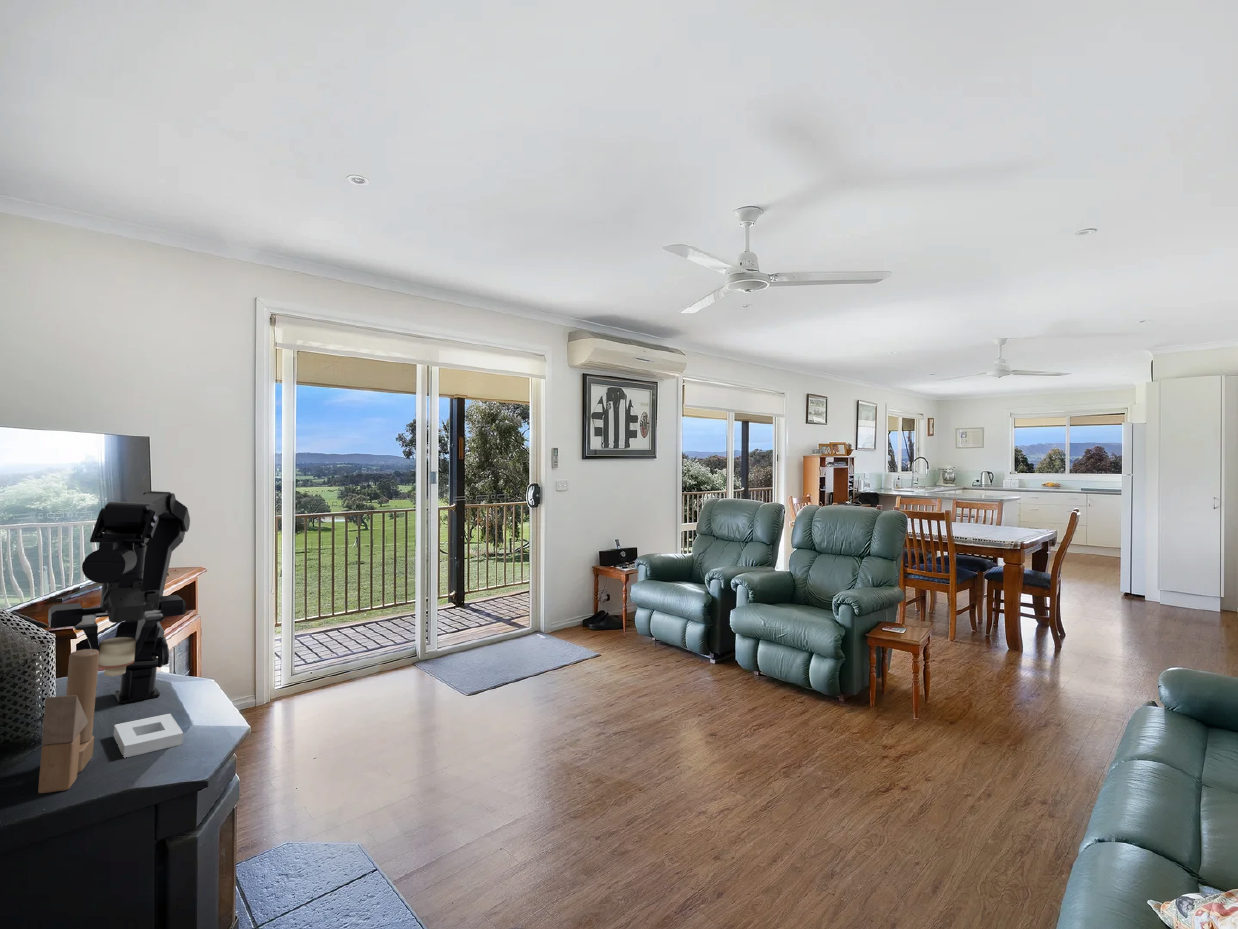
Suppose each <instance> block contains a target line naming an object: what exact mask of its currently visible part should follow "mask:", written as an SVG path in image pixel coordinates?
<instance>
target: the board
mask: <svg viewBox="0 0 1238 929" xmlns="http://www.w3.org/2000/svg"><path fill="white" fill-rule="evenodd" d="M113 727H114V728H113V738H114V740H115V743H116V744H118V745H117V747H118V748H119V751H120V753H121V755H123V756H122V758H123V757H124V758H123V759H126V757H127V758H130V757H135V756H139V755H143V754H148V753H151V752H155V751H160V750H164V749H168V748H173V747H176V746H181V745H183V743H184V742H183V741H184V732H183V730H182V729H181V727H180V726H179V724H178V723H177V721H176V720H175V718H174V717H173V716H172V714H171V713H166V714H160V715H155V716H151V717H146V718H141V719H136V720H132V721H126V722H121V723H117V724H114V726H113Z"/></svg>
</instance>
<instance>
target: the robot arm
mask: <svg viewBox="0 0 1238 929" xmlns="http://www.w3.org/2000/svg"><path fill="white" fill-rule="evenodd" d="M188 509H189V508H188V507H187V506H186V505H185V504H183V503H182V502H180V501H179V500H177V499H176V494H175V493H174V492H172V493H171V492H170V491H159V490H158V491H155V490H148V491H145V492H143V494H142V495H141V496H139V497H137V498H134V499H133V500H131V501H128V502H127V501H125V502H124V501H109V502H108V503H106V504H105V506H104V507H102V508H101V509H100V510H99V513H98V515H97V519H96V522H95V524H94V527H93V530H92V533H91V536H90V539H89V543H94V544H96V543H98V549H97V550H94V551H92V552H91V553H89V554H88V555H86V557H85V559H84V560H83V562H82V564H81V569H82V573H83V575H84V576H85V578H86V579H88V580H89V581H91V582H94V583H96V584H97V583H98V584H101V590H100V591H101V594H100V604H99V606H90V607H82V605H81V603H80V602H76V603H75V602H73V603H62V604H53V605H52V606H51V607H49V608H48V615H47V621H48V626H49V628H50V629H60V628H70V627H71V628H72V627H73V628H74V630H76V631H83V633H84V635H85V636H86V639H87V642H88V644H89V647H90V648H89V649H95V650H98V651H99V634H98V633H99V632H98V630H99V625H98V624H97V622H96V620H97V618H106V617H108V621H109V622H110V623H113V624H117V623H119V624H118V625H117V627H116V633H115V637H114V638H118V637H131V638H135V639H136V647H135V658H134V659H135V660H134V663H133V664H131V665H128V666H126V673H124V674H122V675H120V678H119V679H120V680H119V688H118V690H115V691H114V693H113V695H114V697H115V698H116V701H117V703H118V704H125V703H131V702H136V701H142V700H147V699H152V698H157V697H159V696H160V695H161V693H160V692H159V690H158V688H157V687H156V680H157V671H158V670H157V668H162V667H163V666H167V665H169V663H170V649H169V644H168V642H167V638H166V637H165V630H164V628H163V625H162V624H161V622H163V621H165V617H176V616H183V615H186V607H187V604H186V601H185V600H184V599H183V598H182V597H180V596H179V595H178V594H171V595H169V594H168V595H164V591H165V586H166V581H167V577H168V572H169V567H170V562H171V557H172V553H173V551H174V550H176V548H178V547H179V546H180V545H181V543H184V542H183V541H184V538H185V535H186V533H188V532H189V529H190V526H191V525H190V524H191V518H190V513H189V510H188Z"/></svg>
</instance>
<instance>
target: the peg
mask: <svg viewBox="0 0 1238 929" xmlns="http://www.w3.org/2000/svg"><path fill="white" fill-rule="evenodd" d="M98 645H99V661H98V669H99V668H100V669H104V670H103V675H104V676H105V677H118V676H121V675H122V674H124V673H126V666H128V665H131V664H133V663H134V660H135V659H134V658H135V647H136V639H135V638H131V637H118V638H115V637H112V638H106V639H102V640H101V641H98Z"/></svg>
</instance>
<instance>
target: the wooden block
mask: <svg viewBox="0 0 1238 929" xmlns="http://www.w3.org/2000/svg"><path fill="white" fill-rule="evenodd" d="M98 661H99V651H98V650H95V649H91V648H83V649H79V650H75V651H73V652H70V653H69V657H68V667H67V668H68V669H67V678H66V679H67V681H66V694H65V695H60V696H47V697H46V698H45V701H44V709H43V710H44V712H43V713H44V714H43V723H42V724H43V725H42V734H41V735H42V736H41V745H42V746H41V752H40V753H41V756H40V763H39V764H40V766H39V776H38V777H39V778H38V787H37V788H38V789H37V791H38V794H48V793H53V792H55V793H57V792H61V791H62V792H63V791H67V790H69V789H71V787H72V785H73V784H74V783H75V781H76V780H77V778H78V774H80V773H81V772H82V771H83V770H84V768H85V767H86V766H87V765H88V763H89V762H90V760H92V757H93V755H94V747H95V746H94V743H95V735H93V731H94V719H95V718H94V717H95V706H96V696H97V695H96V694H97V683H98V673H99V667H98Z"/></svg>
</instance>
